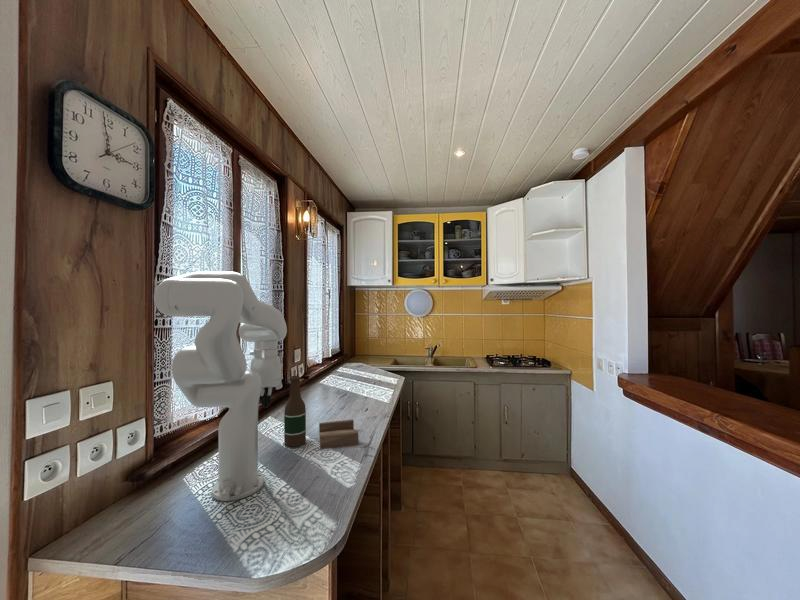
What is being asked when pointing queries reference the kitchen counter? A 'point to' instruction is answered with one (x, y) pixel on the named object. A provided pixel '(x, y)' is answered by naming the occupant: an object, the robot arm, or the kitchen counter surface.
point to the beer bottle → (295, 416)
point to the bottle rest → (337, 434)
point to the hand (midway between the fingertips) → (266, 406)
